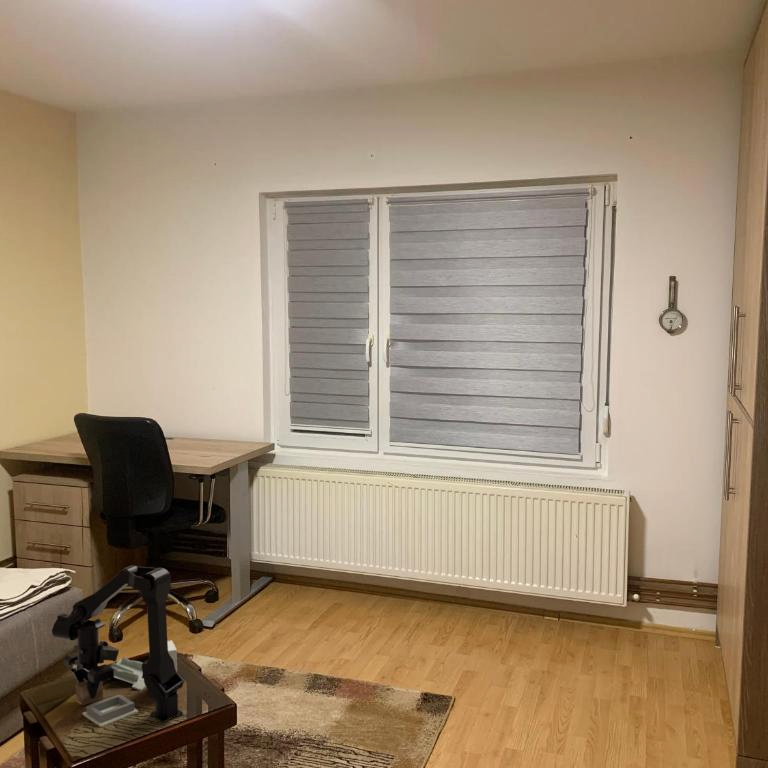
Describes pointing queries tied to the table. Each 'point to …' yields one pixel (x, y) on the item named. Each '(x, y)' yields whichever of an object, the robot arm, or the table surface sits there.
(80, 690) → the walnut block
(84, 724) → the table surface
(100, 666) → the robot arm
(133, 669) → the metal bracket
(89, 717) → the socket board
